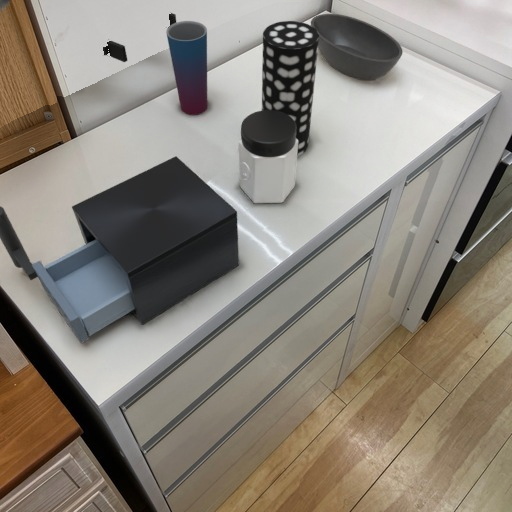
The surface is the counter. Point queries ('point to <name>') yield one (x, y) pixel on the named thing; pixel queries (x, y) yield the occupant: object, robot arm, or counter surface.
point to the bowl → (356, 46)
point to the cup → (189, 64)
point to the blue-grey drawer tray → (76, 282)
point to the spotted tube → (290, 73)
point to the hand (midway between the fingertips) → (151, 37)
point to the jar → (268, 156)
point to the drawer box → (163, 234)
